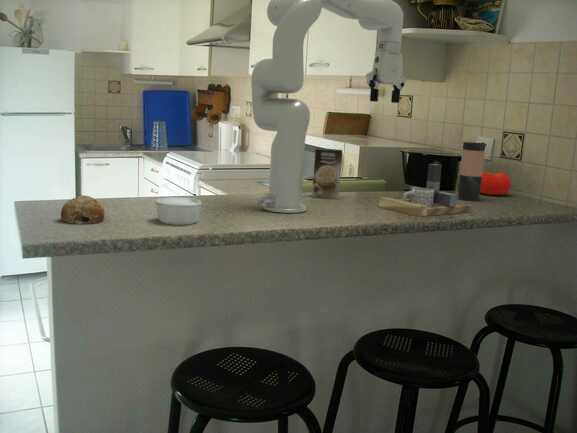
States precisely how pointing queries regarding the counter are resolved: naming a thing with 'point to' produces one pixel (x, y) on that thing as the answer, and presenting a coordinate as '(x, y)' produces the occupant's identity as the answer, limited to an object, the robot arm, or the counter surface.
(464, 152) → the travel mug
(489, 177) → the tomato
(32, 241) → the counter surface
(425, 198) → the mug
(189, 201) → the ramekin
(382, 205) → the wooden tray
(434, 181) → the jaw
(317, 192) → the coffee box
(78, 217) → the bread roll
